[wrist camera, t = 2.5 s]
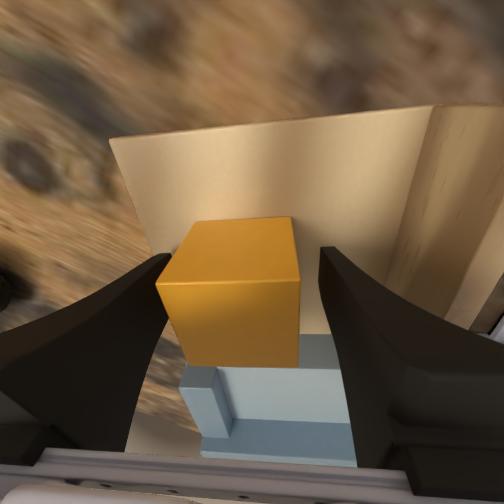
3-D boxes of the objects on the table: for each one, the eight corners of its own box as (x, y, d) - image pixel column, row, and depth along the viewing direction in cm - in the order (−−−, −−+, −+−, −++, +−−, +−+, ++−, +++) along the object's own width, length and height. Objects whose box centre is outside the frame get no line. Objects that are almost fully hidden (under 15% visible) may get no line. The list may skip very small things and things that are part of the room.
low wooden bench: (423, 102, 10) (610, 102, 4) (371, 304, 16) (422, 407, 11) (137, 132, 11) (12, 159, 6) (193, 307, 18) (158, 397, 12)
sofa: (487, 333, 17) (567, 419, 12) (440, 400, 22) (484, 479, 18) (196, 332, 19) (172, 404, 15) (216, 393, 25) (204, 460, 20)
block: (291, 215, 10) (301, 280, 7) (291, 290, 13) (299, 369, 9) (194, 221, 11) (153, 283, 7) (212, 292, 13) (188, 366, 10)
